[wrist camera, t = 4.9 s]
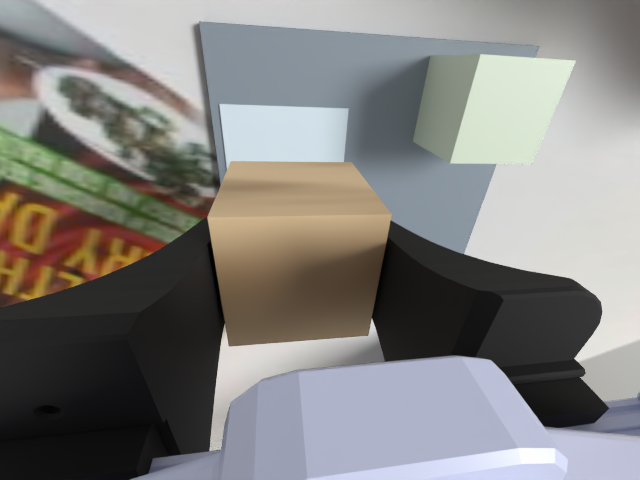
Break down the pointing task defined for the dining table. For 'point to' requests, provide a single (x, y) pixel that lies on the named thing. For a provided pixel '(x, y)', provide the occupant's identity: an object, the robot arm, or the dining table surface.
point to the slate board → (344, 114)
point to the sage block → (488, 107)
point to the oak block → (297, 250)
